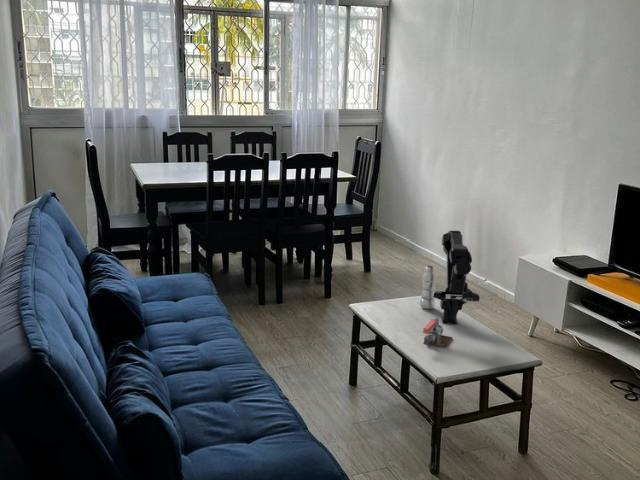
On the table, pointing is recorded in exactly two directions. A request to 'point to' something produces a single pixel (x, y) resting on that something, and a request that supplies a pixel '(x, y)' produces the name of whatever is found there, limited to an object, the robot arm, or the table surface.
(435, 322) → the lever
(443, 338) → the valve
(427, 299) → the plastic bottle
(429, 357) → the table surface
